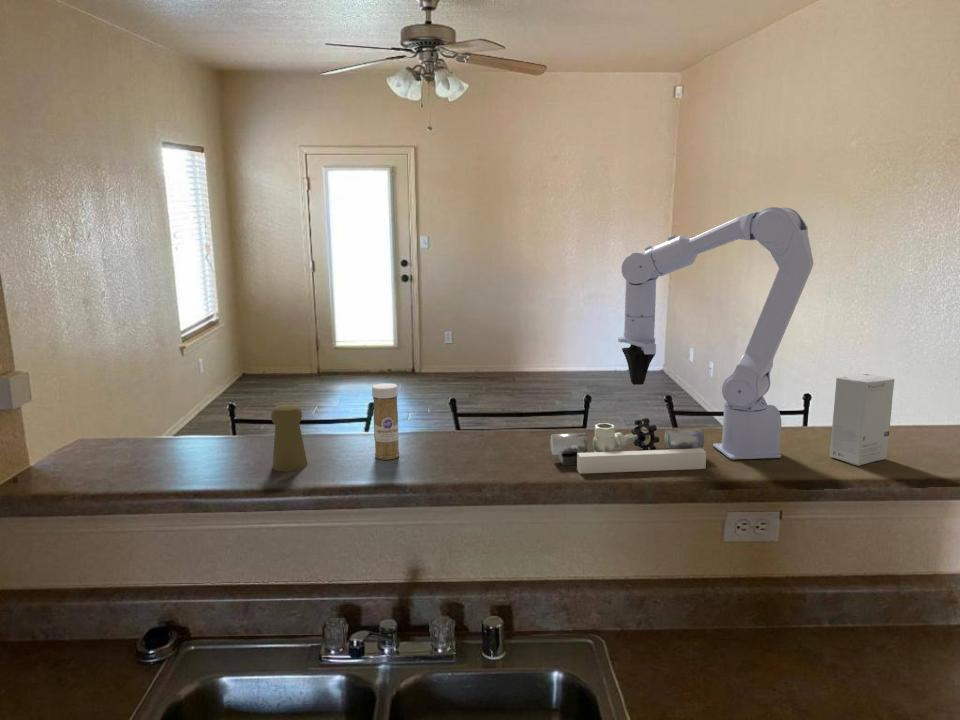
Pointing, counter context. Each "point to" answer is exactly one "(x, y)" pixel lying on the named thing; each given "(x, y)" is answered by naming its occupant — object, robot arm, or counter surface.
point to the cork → (288, 439)
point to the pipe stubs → (578, 443)
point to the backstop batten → (641, 460)
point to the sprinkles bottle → (385, 421)
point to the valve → (623, 437)
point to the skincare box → (861, 418)
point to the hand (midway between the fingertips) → (637, 383)
